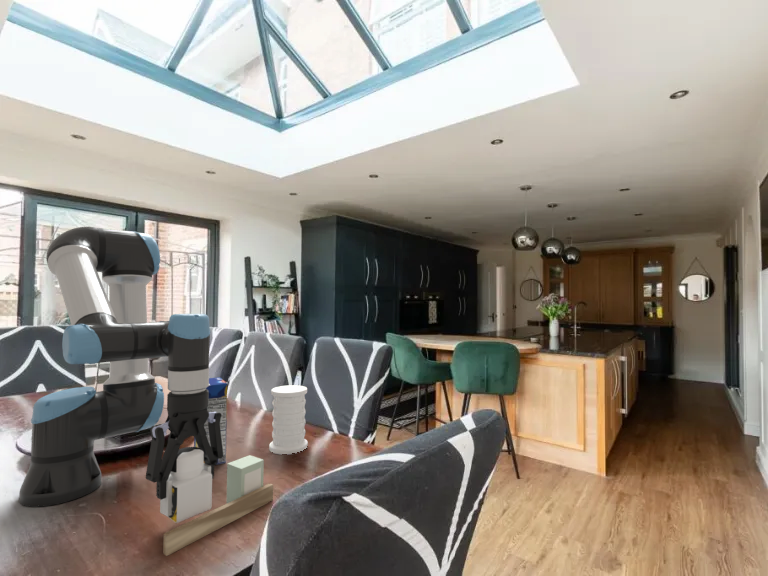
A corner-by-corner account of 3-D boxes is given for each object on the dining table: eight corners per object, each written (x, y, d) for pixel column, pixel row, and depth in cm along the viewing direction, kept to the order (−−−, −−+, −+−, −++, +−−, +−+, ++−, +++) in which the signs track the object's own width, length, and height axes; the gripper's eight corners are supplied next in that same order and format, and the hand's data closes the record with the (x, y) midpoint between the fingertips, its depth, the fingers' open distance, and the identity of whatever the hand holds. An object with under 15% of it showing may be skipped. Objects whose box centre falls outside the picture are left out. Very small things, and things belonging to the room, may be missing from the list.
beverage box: (199, 468, 108) (200, 386, 109) (193, 454, 117) (195, 379, 118) (225, 462, 112) (227, 383, 112) (218, 450, 121) (220, 377, 122)
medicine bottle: (159, 511, 80) (161, 450, 80) (195, 498, 85) (196, 441, 86) (175, 524, 75) (176, 459, 76) (212, 509, 81) (213, 449, 81)
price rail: (162, 553, 72) (162, 533, 72) (268, 498, 92) (268, 482, 92) (166, 556, 71) (167, 535, 71) (272, 500, 91) (272, 484, 91)
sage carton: (226, 504, 89) (227, 463, 89) (248, 493, 94) (249, 455, 94) (240, 511, 86) (241, 468, 87) (263, 499, 91) (263, 459, 92)
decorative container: (261, 452, 120) (262, 391, 120) (282, 439, 131) (283, 383, 132) (295, 456, 116) (296, 394, 117) (314, 443, 127) (314, 386, 128)
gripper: (221, 379, 92) (220, 481, 91) (124, 397, 75) (121, 522, 74) (242, 383, 87) (241, 489, 87) (145, 402, 70) (142, 535, 70)
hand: (186, 504), depth 80 cm, fingers closed on medicine bottle, 7 cm apart
